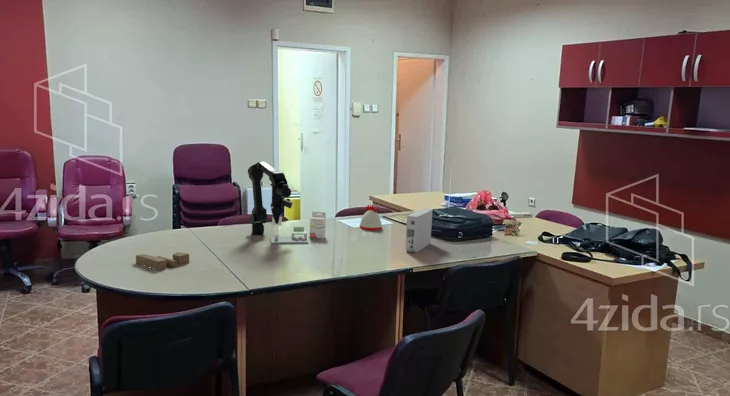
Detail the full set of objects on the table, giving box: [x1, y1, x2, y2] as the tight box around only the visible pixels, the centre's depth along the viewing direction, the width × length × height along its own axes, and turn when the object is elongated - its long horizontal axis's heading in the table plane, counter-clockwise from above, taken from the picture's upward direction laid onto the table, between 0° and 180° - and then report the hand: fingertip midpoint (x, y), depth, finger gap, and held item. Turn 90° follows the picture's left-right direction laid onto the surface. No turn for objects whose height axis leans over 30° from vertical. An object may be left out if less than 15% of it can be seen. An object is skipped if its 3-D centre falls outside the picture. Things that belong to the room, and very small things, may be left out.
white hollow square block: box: [271, 216, 283, 226], centre depth 301 cm, size 5×5×4 cm
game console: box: [404, 207, 433, 254], centre depth 300 cm, size 6×27×20 cm, turn 155°
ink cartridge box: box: [309, 211, 327, 239], centre depth 315 cm, size 9×5×15 cm, turn 84°
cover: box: [291, 225, 308, 240], centre depth 309 cm, size 8×7×6 cm
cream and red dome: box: [359, 204, 383, 231], centre depth 346 cm, size 14×14×15 cm
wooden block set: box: [135, 251, 190, 271], centre depth 253 cm, size 17×6×18 cm
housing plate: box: [270, 233, 309, 245], centre depth 305 cm, size 20×14×4 cm
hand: (276, 222), depth 301 cm, fingers closed on white hollow square block, 5 cm apart
